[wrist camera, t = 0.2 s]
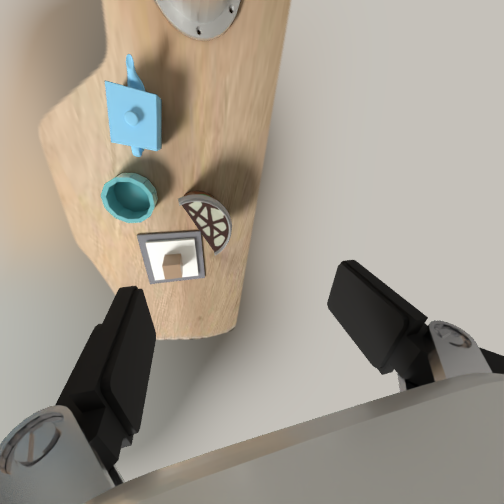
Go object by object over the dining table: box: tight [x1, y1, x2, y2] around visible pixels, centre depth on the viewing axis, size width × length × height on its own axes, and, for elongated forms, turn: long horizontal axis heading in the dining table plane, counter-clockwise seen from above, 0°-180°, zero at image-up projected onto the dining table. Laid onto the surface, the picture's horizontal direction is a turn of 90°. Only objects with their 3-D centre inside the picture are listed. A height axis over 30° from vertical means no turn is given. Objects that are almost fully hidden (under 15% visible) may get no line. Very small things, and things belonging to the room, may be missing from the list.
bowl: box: [101, 173, 158, 223], centre depth 37 cm, size 8×8×5 cm
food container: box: [178, 191, 232, 255], centre depth 40 cm, size 12×6×10 cm, turn 24°
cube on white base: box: [146, 238, 198, 280], centre depth 45 cm, size 10×10×5 cm
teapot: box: [105, 54, 162, 157], centre depth 30 cm, size 12×6×8 cm, turn 167°
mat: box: [137, 231, 205, 284], centre depth 48 cm, size 13×13×1 cm
